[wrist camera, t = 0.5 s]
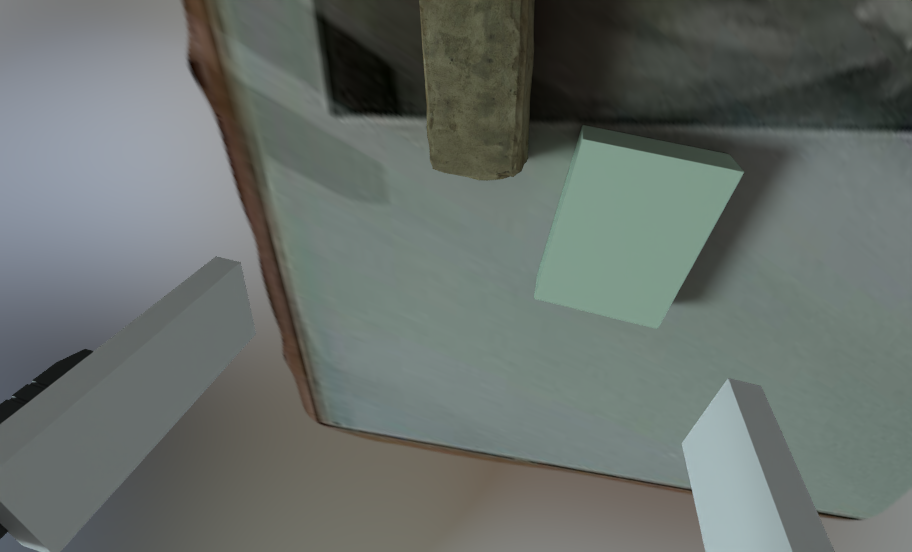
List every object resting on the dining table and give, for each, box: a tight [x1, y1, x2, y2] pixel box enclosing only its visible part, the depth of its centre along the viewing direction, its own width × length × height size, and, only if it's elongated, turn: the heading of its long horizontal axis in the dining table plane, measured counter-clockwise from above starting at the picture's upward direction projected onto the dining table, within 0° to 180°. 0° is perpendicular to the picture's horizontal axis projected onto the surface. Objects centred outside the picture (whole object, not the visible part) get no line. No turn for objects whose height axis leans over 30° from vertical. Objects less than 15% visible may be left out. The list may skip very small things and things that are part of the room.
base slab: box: [534, 125, 744, 329], centre depth 30 cm, size 12×9×3 cm
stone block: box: [419, 0, 535, 180], centre depth 25 cm, size 6×12×5 cm, turn 3°
